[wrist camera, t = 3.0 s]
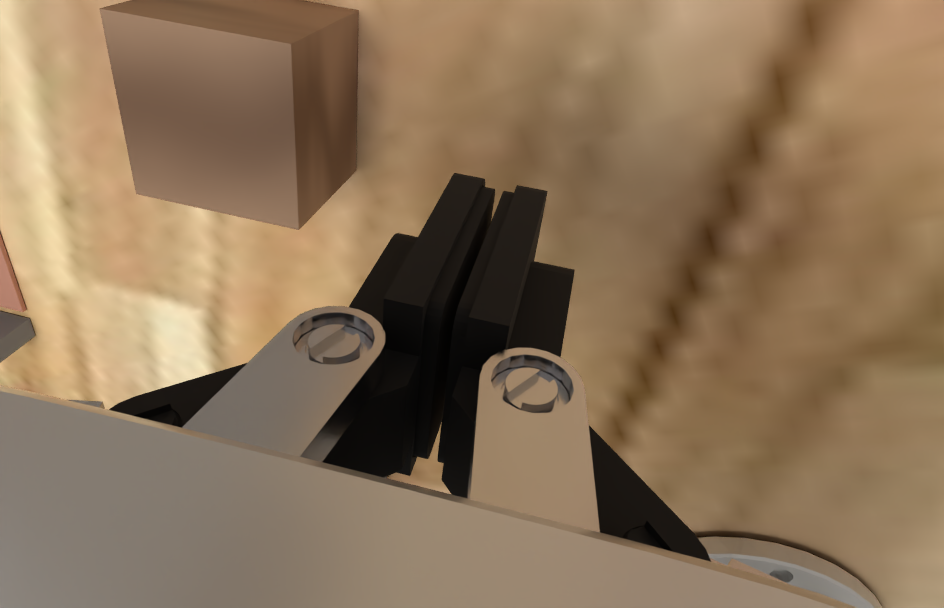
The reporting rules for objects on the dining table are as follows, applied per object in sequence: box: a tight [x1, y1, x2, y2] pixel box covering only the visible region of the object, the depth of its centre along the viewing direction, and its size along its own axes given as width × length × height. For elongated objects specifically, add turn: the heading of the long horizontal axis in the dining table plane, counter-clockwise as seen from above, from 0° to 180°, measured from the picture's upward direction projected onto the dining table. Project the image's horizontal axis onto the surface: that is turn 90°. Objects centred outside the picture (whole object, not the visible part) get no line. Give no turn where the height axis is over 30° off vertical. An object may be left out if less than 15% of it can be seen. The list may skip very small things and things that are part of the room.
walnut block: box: [100, 0, 359, 230], centre depth 19 cm, size 5×5×4 cm
